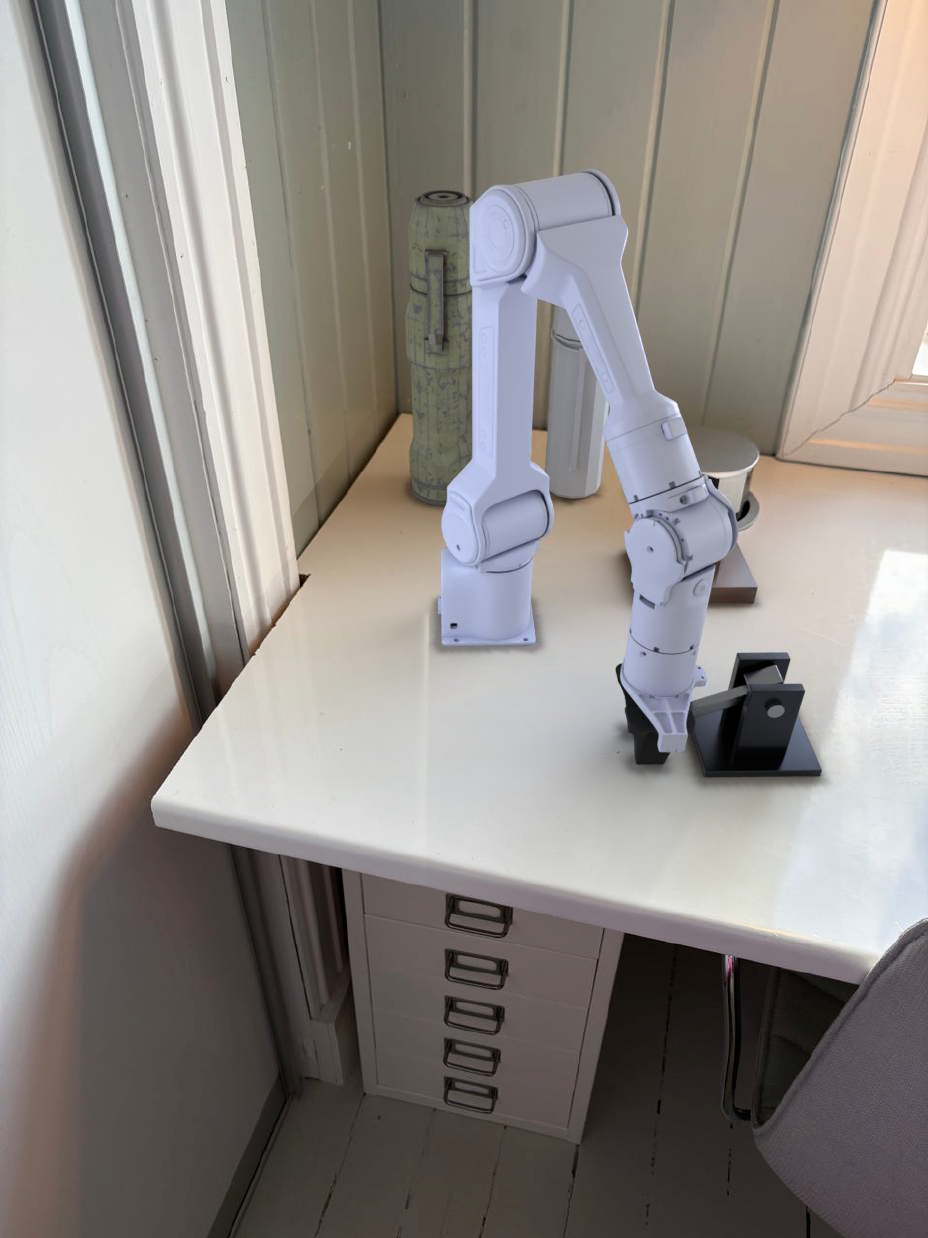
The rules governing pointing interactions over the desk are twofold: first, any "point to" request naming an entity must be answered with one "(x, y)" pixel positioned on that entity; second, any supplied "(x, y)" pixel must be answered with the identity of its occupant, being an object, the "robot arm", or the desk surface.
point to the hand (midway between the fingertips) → (644, 751)
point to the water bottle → (573, 416)
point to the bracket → (757, 728)
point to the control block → (732, 580)
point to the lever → (735, 692)
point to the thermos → (439, 341)
